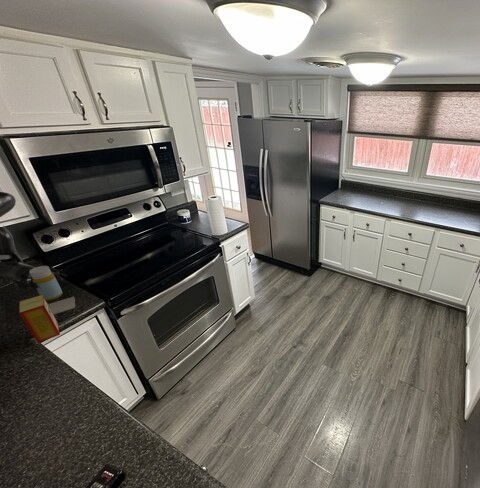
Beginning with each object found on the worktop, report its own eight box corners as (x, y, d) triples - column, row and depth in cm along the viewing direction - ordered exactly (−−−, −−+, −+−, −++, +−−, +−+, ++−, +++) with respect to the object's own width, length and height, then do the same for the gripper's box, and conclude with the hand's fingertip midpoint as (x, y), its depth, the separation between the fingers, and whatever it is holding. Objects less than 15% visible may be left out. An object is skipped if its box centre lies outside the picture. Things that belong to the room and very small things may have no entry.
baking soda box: (60, 334, 110) (43, 304, 103) (38, 343, 106) (19, 312, 99) (58, 322, 116) (42, 293, 109) (37, 330, 112) (19, 300, 105)
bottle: (66, 294, 124) (53, 267, 118) (47, 303, 119) (32, 275, 112) (58, 290, 127) (45, 263, 120) (39, 298, 121) (24, 271, 114)
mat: (40, 319, 118) (39, 318, 118) (40, 307, 125) (40, 306, 125) (75, 307, 125) (75, 307, 125) (74, 297, 133) (74, 296, 132)
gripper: (1, 274, 116) (22, 283, 111) (42, 259, 128) (63, 267, 123) (9, 288, 119) (30, 297, 114) (49, 272, 131) (69, 280, 126)
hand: (47, 281), depth 118 cm, fingers closed on bottle, 7 cm apart
